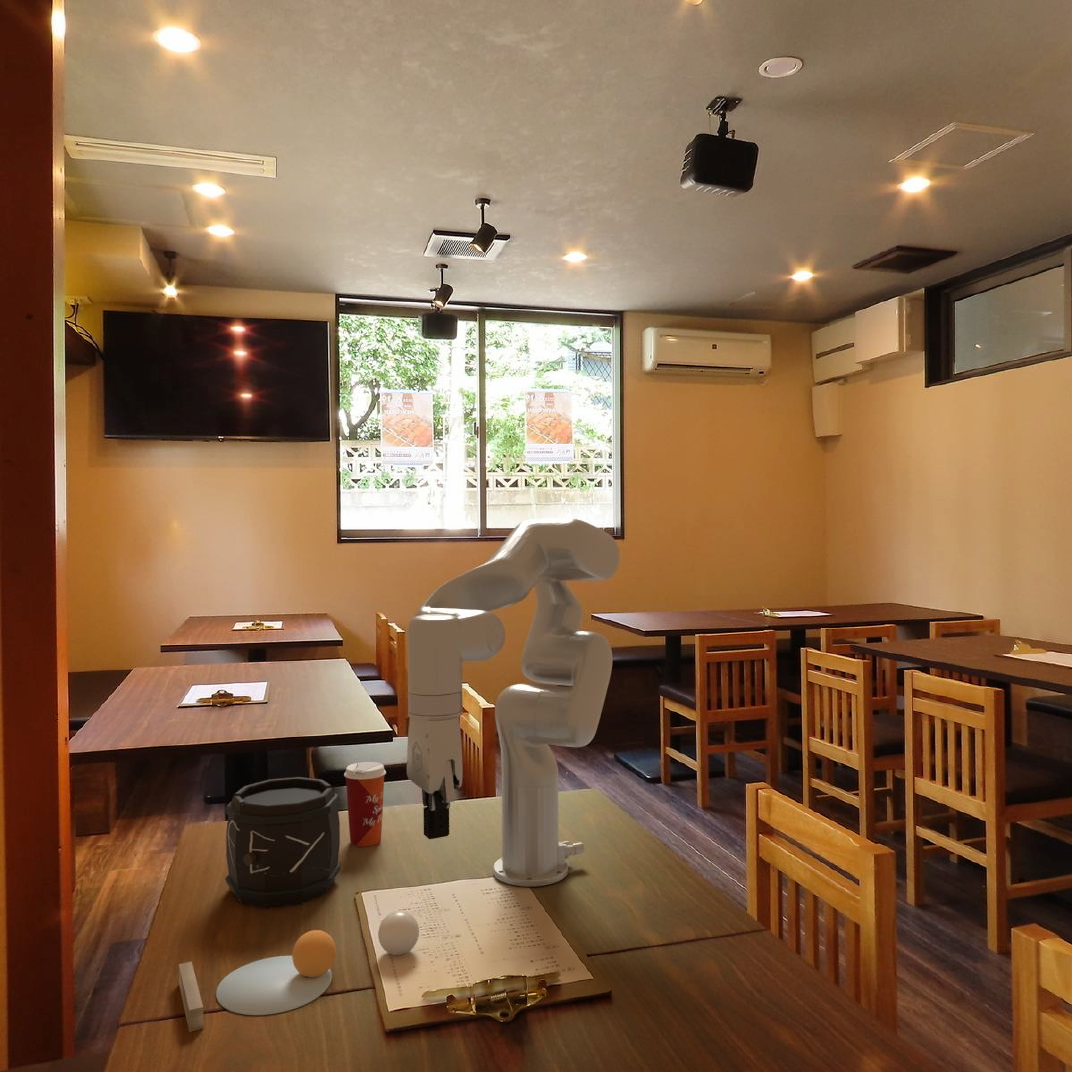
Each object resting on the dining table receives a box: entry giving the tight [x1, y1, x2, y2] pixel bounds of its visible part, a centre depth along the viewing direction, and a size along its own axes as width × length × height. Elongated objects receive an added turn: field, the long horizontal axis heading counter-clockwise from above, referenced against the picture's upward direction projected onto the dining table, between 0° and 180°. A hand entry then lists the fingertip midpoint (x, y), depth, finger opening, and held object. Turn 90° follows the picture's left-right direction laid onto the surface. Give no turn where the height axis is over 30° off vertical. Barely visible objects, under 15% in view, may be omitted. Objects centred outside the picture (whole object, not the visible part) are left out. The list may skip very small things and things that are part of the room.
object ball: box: [291, 929, 337, 977], centre depth 111 cm, size 6×6×6 cm
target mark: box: [215, 955, 333, 1016], centre depth 108 cm, size 14×14×1 cm
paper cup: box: [343, 761, 387, 848], centre depth 159 cm, size 8×8×14 cm
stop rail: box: [178, 961, 204, 1033], centre depth 104 cm, size 2×12×2 cm, turn 28°
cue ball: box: [377, 910, 420, 956], centre depth 116 cm, size 6×6×6 cm
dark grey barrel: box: [224, 776, 342, 909], centre depth 138 cm, size 18×18×16 cm
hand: (436, 835), depth 119 cm, fingers closed
